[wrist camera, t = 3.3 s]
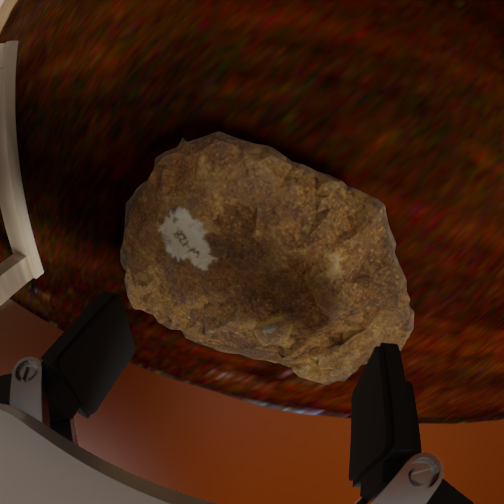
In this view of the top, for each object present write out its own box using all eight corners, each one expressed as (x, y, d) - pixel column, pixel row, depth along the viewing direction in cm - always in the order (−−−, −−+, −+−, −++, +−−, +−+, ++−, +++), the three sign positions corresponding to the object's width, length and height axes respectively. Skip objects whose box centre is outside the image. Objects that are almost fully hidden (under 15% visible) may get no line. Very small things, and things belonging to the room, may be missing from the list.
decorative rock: (454, 210, 11) (166, 114, 13) (493, 242, 8) (114, 115, 9) (360, 373, 17) (144, 295, 18) (361, 424, 13) (108, 331, 15)
